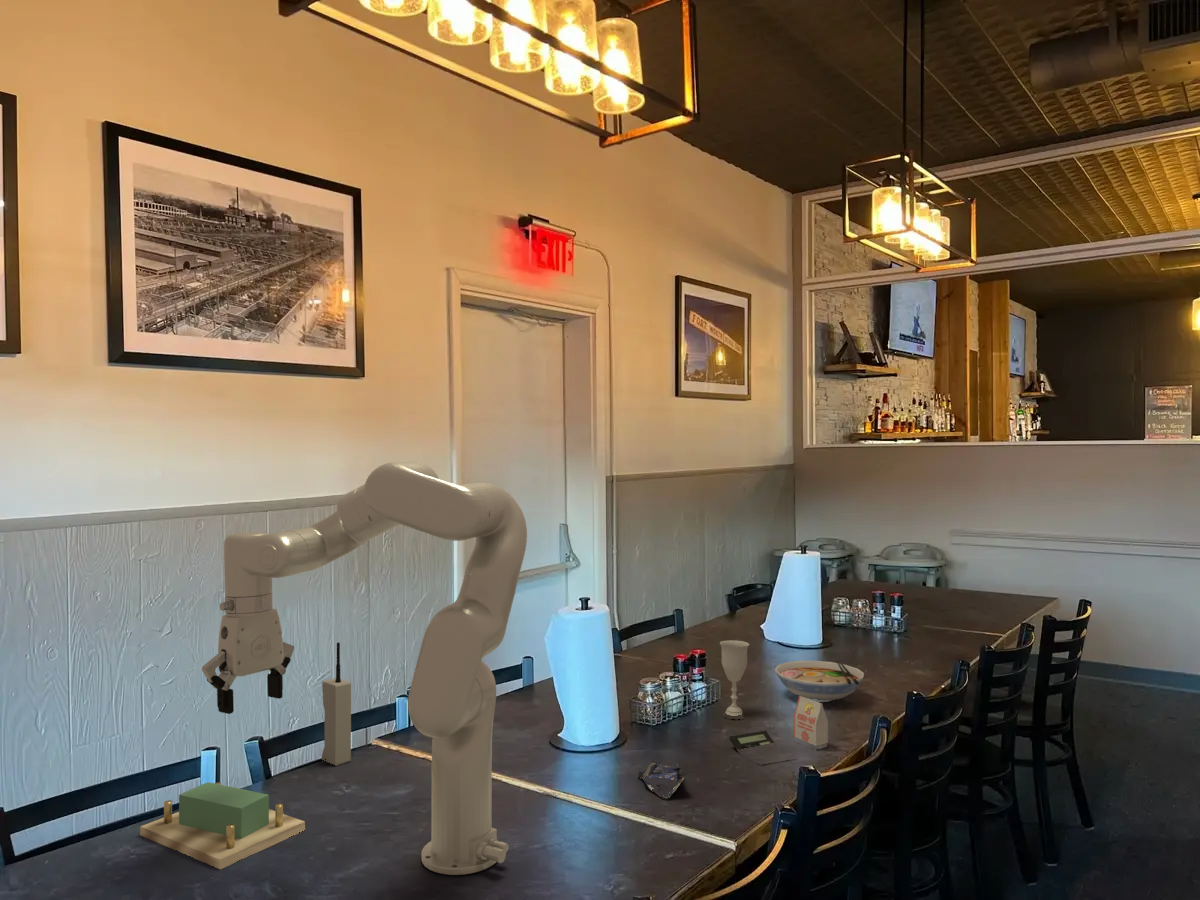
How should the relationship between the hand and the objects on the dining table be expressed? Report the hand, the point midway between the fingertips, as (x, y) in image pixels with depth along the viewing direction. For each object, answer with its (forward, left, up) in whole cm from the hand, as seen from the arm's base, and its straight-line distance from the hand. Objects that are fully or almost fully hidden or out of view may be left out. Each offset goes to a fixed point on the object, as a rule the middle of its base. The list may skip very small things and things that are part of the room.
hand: (251, 704), depth 145 cm
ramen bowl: (-59, -128, -22) cm, 143 cm away
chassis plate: (+3, +3, -22) cm, 22 cm away
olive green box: (+3, +3, -20) cm, 21 cm away
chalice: (-46, -102, -22) cm, 114 cm away
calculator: (-61, -82, -22) cm, 104 cm away
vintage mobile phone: (+13, -30, -22) cm, 39 cm away
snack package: (-51, -55, -22) cm, 78 cm away
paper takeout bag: (-68, -93, -22) cm, 117 cm away
